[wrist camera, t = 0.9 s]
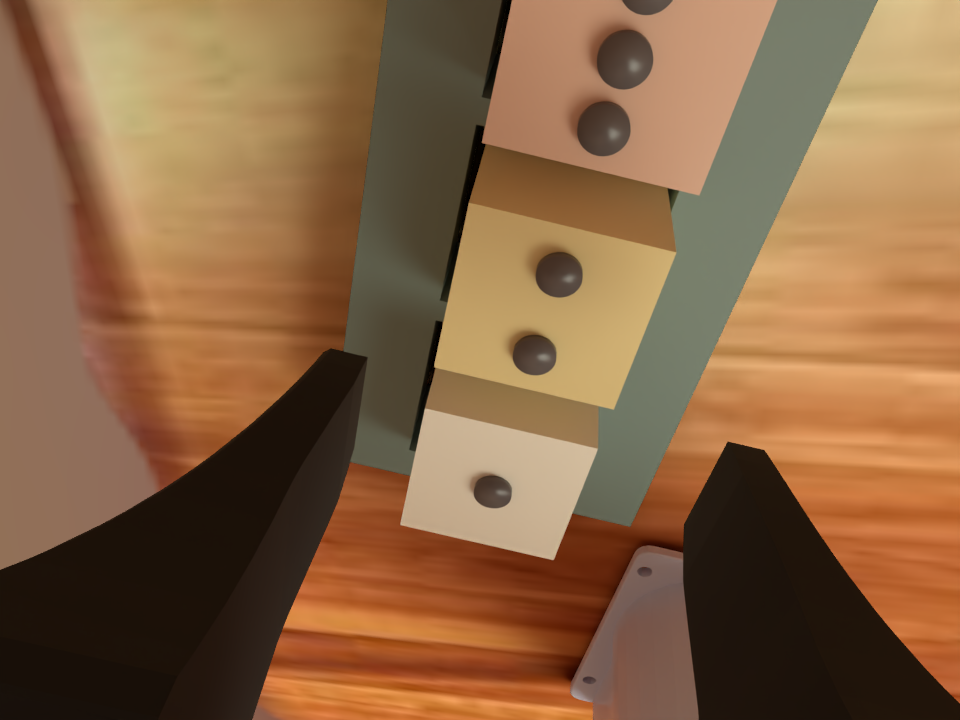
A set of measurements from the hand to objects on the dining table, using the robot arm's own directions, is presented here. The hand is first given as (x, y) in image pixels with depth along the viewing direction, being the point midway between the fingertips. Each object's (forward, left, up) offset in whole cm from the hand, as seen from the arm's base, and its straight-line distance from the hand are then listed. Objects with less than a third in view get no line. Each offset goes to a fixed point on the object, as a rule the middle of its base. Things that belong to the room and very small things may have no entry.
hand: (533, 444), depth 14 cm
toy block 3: (-5, 0, -8) cm, 10 cm away
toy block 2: (0, 0, -8) cm, 8 cm away
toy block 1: (+5, 0, -8) cm, 10 cm away
